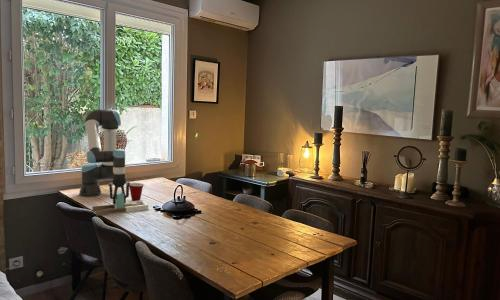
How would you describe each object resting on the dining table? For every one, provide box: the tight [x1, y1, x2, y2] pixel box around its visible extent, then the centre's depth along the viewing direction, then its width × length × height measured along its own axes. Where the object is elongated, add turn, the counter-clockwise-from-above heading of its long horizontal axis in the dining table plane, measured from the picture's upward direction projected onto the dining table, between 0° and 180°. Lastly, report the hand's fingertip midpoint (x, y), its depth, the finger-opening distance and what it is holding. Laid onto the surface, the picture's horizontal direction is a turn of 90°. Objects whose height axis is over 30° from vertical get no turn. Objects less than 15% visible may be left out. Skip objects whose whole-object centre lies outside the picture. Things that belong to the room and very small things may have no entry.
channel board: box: [92, 203, 127, 217], centre depth 247 cm, size 13×18×2 cm
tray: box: [125, 199, 149, 213], centre depth 255 cm, size 13×14×3 cm
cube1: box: [124, 201, 131, 208], centre depth 253 cm, size 4×4×4 cm
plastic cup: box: [129, 182, 145, 202], centre depth 275 cm, size 11×11×12 cm
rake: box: [116, 190, 124, 209], centre depth 249 cm, size 8×4×11 cm, turn 32°
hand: (119, 208), depth 250 cm, fingers closed on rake, 4 cm apart
